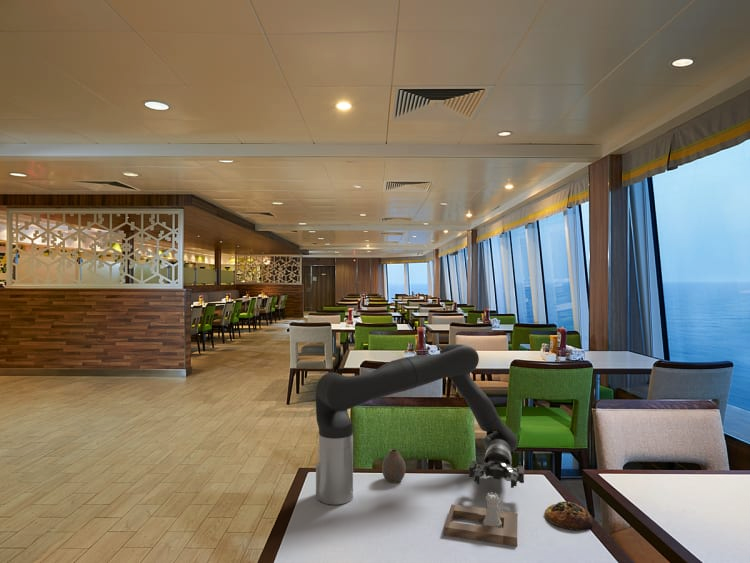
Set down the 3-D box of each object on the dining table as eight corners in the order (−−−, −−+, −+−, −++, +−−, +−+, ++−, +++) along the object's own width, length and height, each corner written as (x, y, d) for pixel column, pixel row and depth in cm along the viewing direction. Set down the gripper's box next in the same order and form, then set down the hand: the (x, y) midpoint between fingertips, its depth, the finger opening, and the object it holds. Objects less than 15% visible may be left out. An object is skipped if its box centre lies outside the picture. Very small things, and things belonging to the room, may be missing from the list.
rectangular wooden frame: (444, 535, 108) (444, 527, 108) (451, 511, 119) (451, 504, 119) (517, 546, 103) (517, 537, 103) (517, 520, 115) (517, 513, 115)
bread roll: (584, 536, 107) (581, 513, 108) (537, 526, 115) (535, 505, 115) (600, 521, 115) (597, 499, 116) (556, 513, 123) (553, 492, 124)
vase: (403, 486, 135) (403, 455, 135) (380, 484, 137) (380, 453, 137) (407, 476, 142) (406, 447, 142) (384, 475, 143) (384, 446, 143)
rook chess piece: (491, 535, 108) (491, 500, 108) (478, 526, 112) (478, 492, 112) (506, 531, 110) (506, 496, 110) (493, 522, 114) (493, 489, 114)
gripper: (472, 445, 139) (466, 464, 123) (523, 449, 134) (524, 470, 119) (472, 470, 138) (467, 493, 123) (523, 476, 134) (524, 500, 119)
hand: (495, 482), depth 121 cm, fingers open, 8 cm apart
